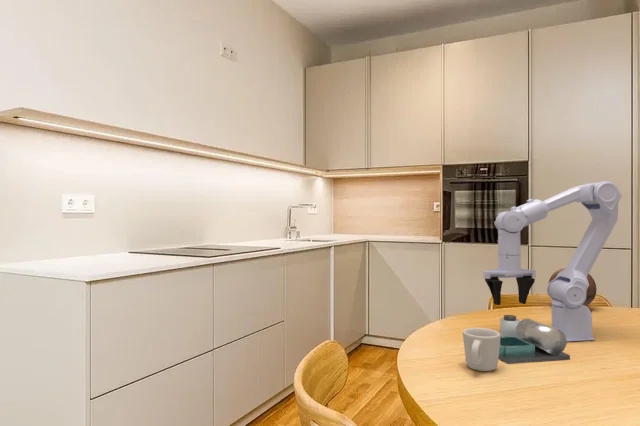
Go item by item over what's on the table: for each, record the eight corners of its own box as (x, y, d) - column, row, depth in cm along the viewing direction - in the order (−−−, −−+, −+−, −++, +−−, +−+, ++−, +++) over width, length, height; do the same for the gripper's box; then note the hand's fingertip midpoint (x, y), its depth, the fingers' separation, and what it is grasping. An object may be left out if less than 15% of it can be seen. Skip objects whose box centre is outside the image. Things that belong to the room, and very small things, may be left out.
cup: (494, 381, 92) (494, 342, 92) (455, 374, 96) (455, 336, 96) (503, 365, 101) (503, 330, 101) (467, 359, 106) (467, 326, 106)
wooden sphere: (559, 302, 171) (558, 263, 171) (603, 308, 159) (602, 266, 160) (541, 308, 161) (540, 266, 162) (586, 315, 150) (586, 270, 150)
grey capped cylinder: (513, 334, 127) (512, 313, 127) (523, 339, 122) (523, 317, 122) (496, 335, 126) (496, 314, 126) (507, 340, 121) (506, 318, 121)
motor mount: (534, 343, 118) (534, 317, 118) (569, 359, 105) (569, 329, 105) (478, 347, 116) (478, 319, 116) (507, 363, 103) (506, 333, 103)
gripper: (524, 252, 129) (524, 299, 129) (477, 253, 127) (478, 302, 127) (540, 255, 122) (540, 304, 122) (491, 256, 120) (491, 307, 120)
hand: (509, 303), depth 124 cm, fingers open, 7 cm apart
